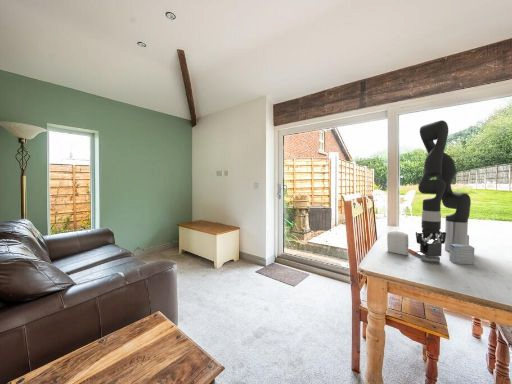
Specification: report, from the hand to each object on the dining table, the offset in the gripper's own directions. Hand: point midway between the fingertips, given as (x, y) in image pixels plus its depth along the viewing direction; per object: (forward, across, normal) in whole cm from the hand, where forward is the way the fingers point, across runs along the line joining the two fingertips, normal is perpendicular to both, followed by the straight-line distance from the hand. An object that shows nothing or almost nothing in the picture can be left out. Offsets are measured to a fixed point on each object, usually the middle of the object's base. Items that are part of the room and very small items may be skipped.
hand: (430, 251), depth 109 cm
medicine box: (+5, -13, +3) cm, 14 cm away
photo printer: (+5, +8, -13) cm, 16 cm away
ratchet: (+5, 0, -5) cm, 7 cm away
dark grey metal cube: (+1, 0, 0) cm, 1 cm away
